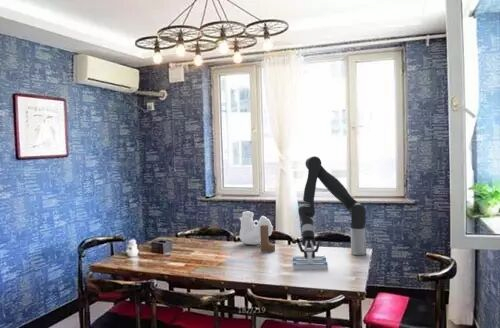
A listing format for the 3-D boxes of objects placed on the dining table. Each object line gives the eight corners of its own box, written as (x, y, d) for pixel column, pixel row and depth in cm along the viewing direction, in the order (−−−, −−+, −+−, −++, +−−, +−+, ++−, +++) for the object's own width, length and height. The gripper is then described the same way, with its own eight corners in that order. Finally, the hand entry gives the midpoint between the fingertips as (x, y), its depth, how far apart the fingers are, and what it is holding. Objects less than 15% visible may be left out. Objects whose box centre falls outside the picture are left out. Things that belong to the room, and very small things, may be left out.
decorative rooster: (236, 245, 306) (235, 212, 305) (245, 241, 321) (243, 209, 320) (268, 248, 297) (266, 213, 295) (275, 243, 311) (274, 210, 310)
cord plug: (312, 263, 250) (312, 248, 249) (313, 265, 246) (312, 250, 246) (306, 263, 250) (306, 248, 250) (306, 265, 246) (306, 250, 246)
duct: (324, 259, 262) (324, 253, 262) (327, 269, 242) (327, 262, 241) (292, 259, 264) (292, 253, 264) (293, 269, 243) (292, 262, 243)
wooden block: (275, 250, 288) (274, 225, 287) (273, 252, 284) (272, 226, 283) (263, 249, 292) (262, 224, 291) (260, 251, 288) (259, 225, 287)
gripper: (296, 230, 255) (297, 254, 244) (319, 229, 254) (322, 254, 242) (296, 236, 261) (297, 261, 249) (319, 236, 259) (321, 260, 248)
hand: (309, 257), depth 246 cm, fingers closed on cord plug, 3 cm apart
